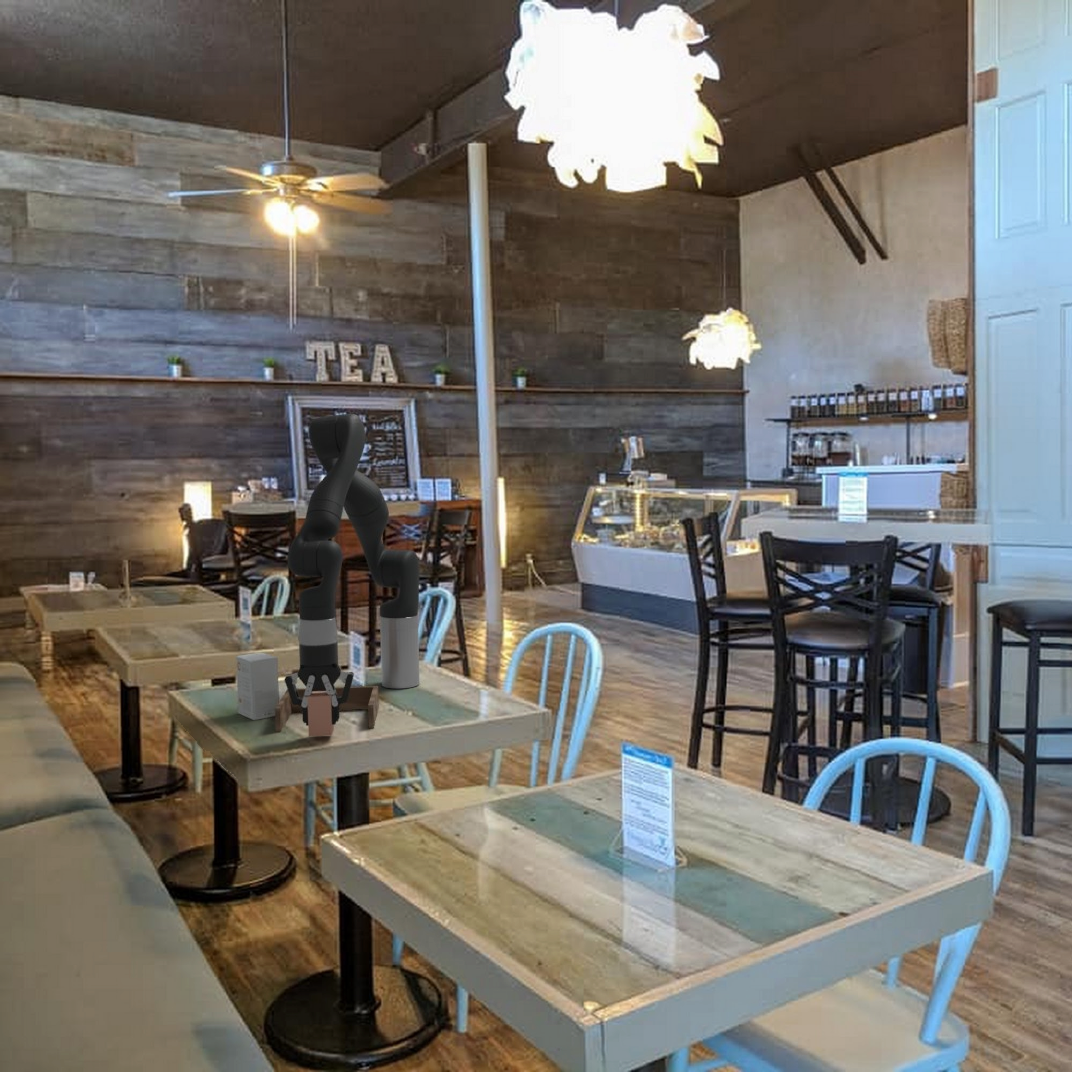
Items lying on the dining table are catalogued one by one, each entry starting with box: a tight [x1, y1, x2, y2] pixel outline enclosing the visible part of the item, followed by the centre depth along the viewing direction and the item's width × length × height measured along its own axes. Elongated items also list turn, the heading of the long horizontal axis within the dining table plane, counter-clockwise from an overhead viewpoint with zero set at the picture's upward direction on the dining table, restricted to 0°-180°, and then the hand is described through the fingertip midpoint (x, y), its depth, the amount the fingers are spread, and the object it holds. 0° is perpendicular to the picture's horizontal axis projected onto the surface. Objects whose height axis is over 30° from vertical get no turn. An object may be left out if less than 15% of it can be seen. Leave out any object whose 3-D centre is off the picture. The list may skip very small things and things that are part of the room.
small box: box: [235, 652, 280, 721], centre depth 227 cm, size 8×6×13 cm
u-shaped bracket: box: [274, 685, 380, 733], centre depth 223 cm, size 17×20×5 cm
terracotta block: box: [307, 691, 335, 737], centre depth 208 cm, size 4×4×8 cm
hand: (321, 723), depth 208 cm, fingers closed on terracotta block, 4 cm apart
